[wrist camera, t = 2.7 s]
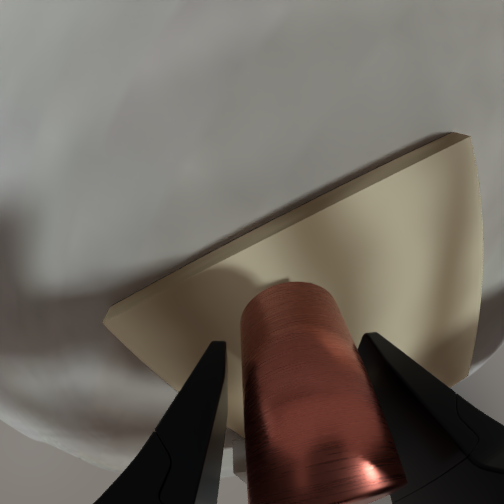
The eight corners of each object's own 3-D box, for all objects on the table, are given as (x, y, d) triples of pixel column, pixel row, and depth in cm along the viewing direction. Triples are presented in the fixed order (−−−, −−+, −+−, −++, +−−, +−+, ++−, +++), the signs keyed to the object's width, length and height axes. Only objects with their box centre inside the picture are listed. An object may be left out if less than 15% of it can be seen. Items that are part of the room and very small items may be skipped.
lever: (317, 235, 9) (430, 460, 2) (391, 426, 17) (416, 500, 11) (212, 286, 10) (197, 516, 3) (346, 444, 18) (364, 520, 12)
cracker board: (453, 131, 9) (518, 151, 6) (462, 366, 18) (481, 398, 14) (86, 320, 13) (57, 376, 9) (259, 453, 22) (262, 489, 18)
